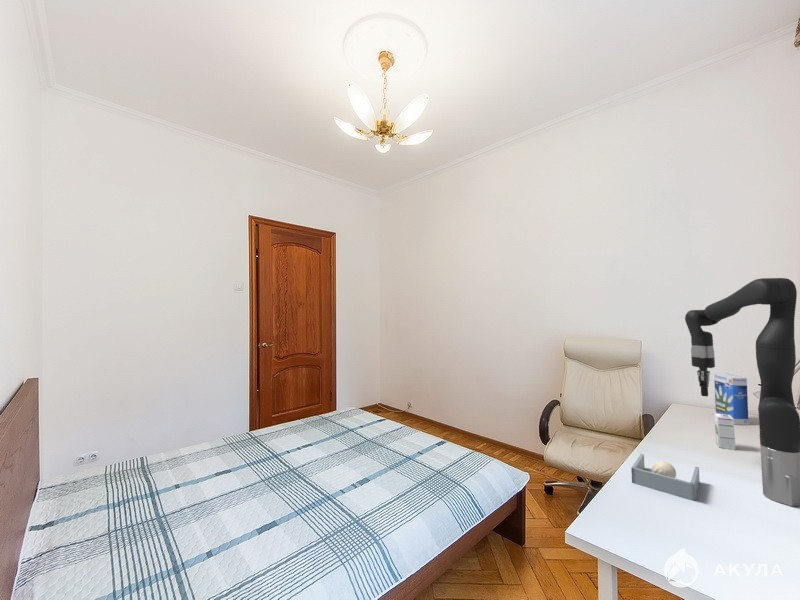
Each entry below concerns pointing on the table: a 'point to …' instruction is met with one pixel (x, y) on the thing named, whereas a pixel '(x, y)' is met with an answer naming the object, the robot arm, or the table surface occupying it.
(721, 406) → the string lights box
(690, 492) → the grey u-shaped frame
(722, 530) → the table surface
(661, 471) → the cream rounded lump
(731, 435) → the syrup box
